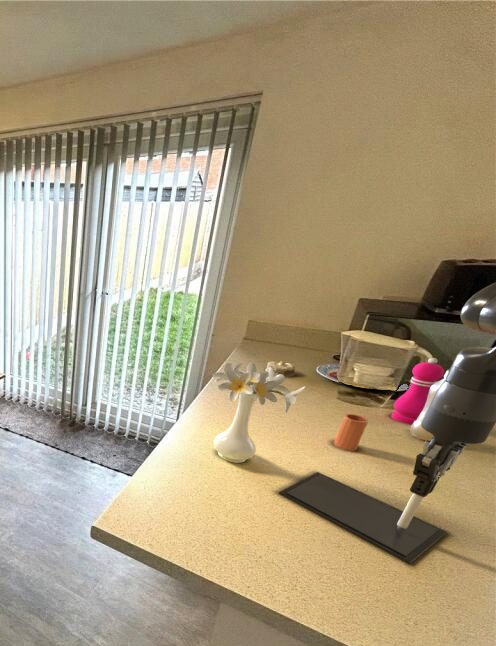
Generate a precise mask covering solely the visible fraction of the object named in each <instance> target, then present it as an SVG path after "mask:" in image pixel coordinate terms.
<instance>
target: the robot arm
mask: <svg viewBox="0 0 496 646" xmlns="http://www.w3.org/2000/svg"><path fill="white" fill-rule="evenodd" d="M460 320H461V322H462V324H463V325H464V326H466V327H467V328H469V329H471V330H474V331H477V332H482V333H487V334H492V335H495V336H496V282H493V283H492V284H490V285H488V286H486V287H484V288H482V289H480V290H479V291H477V292H476V293H475V294H473V295H472V296H471V297H470V298H469V299H468V300H467V301H466V302H465V304H464V305H463V307H462V308H461V310H460ZM449 369H450V370H449ZM449 369H448V370H449V372H448V374H447V376H446V378H445V377H444V378H445V380H444V382H443V383H442V385H441V386H440V387H439V389H438V390H437V392H436V394H435V396H434V398H433V400H432V402H431V404H430V406H429V408H428V410H427V412H426V414H425V416H424V419H423V421H422V423H421V426H422V428H423V429H424V430H426V431H427V432H430V433H431V434H432V435H433V437H432V439H431V440H427V441H425V442H424V444H423V446H422V450H423V451H422V452H421V453H418V454H417V455H416V456H415V458H416V459H415V463H414V467H413V470H412V475H413V476H415V479H414V480H413V482H412V484H411V486H410V488H409V491H410V492H411V493H412V494H413V493H414V494H417V495H419V496H421V497H423V498H426V497H427V496H428V495H429V494H432V493H433V492H434V490H435V488H436V486H437V485H438V482H439V480H440V478H442V477H444V476H445V474H446V472H448V471H450V470H451V467H453V466H454V465H455V463H456V461H457V460H458V457H459V456H460V455H462V454H463V453H464V452H465V449H466V447H467V445H478V444H483V443H486V441H487V439H488V437H489V436H490V434H491V432H492V430H493V428H494V426H495V425H496V345H495V346H494V347H487V346H469V347H466V348H463V349H462V350H460V351H459V352H458V353H457V354H456V356H455V358H454V359H453V362H452V364H451V365H450V368H449Z"/></svg>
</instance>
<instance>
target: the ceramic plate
mask: <svg viewBox="0 0 496 646" xmlns="http://www.w3.org/2000/svg"><path fill="white" fill-rule="evenodd" d="M339 364H340V363H329V364H327V363H326V364H321V365H319V366H317V367H316V372H317V374H319V375H320V376H321V377H324V378H326V379H328V380H329V381H334V382H336V383H339V382H338V378H337V375H338V368H339ZM407 388H408V385H407V384H403V385H401V386H400V387H399V389H398V390H397V391H396V392H403V391H408V389H407Z"/></svg>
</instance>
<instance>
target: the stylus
mask: <svg viewBox="0 0 496 646" xmlns="http://www.w3.org/2000/svg"><path fill="white" fill-rule="evenodd" d="M423 499H424V497H421V496H419V495H417V494H414V493H412V494H411V496H410V498H409V500H408V501H407V504H406V505H405V507H404V509H403V510H402V511H403V513H402V515H401V517H400V519H399V521H398V523H397V525H398V527H397V528H398V529H399V530H401V531H403V530H404V529H405V528H407V527H408V525H409V523H410V521H411V520H412V518H413V516H414V517H415V514H416V512H417V510H418V509H419V507H420V505H421V503H422V501H423Z"/></svg>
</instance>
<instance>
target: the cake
mask: <svg viewBox="0 0 496 646" xmlns="http://www.w3.org/2000/svg"><path fill="white" fill-rule="evenodd" d="M269 367H270V368H272V370H273V372H274V376H277V375H279V374H282V375H284V376H285V378H290V377H291V378H292V377H294V376H295V375H296V373H295V372H296V367H295V365H293V364H292V363H289V362H287V363H285V361H284V360H280V362H276V361H269V362H267V366H266V367H265V368H264V371H267V372H269Z"/></svg>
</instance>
